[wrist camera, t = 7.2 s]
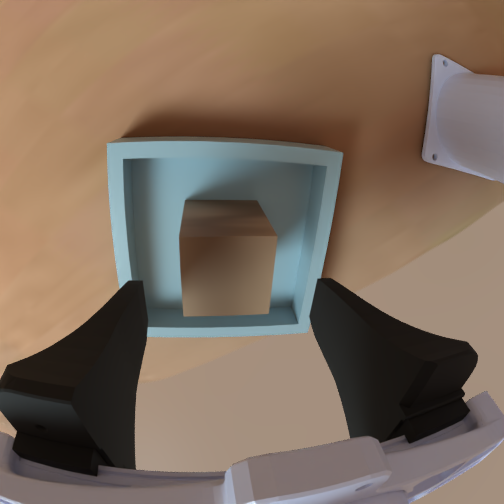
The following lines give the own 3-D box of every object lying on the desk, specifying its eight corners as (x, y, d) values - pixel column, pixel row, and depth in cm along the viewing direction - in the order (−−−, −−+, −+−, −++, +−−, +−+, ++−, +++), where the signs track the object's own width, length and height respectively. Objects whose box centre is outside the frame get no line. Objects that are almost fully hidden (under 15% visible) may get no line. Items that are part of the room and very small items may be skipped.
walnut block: (257, 200, 17) (277, 236, 13) (252, 263, 19) (268, 314, 14) (185, 199, 16) (178, 236, 12) (186, 264, 18) (183, 316, 14)
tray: (325, 146, 17) (343, 152, 14) (297, 310, 22) (307, 332, 20) (120, 137, 15) (107, 143, 12) (134, 312, 20) (128, 336, 18)
